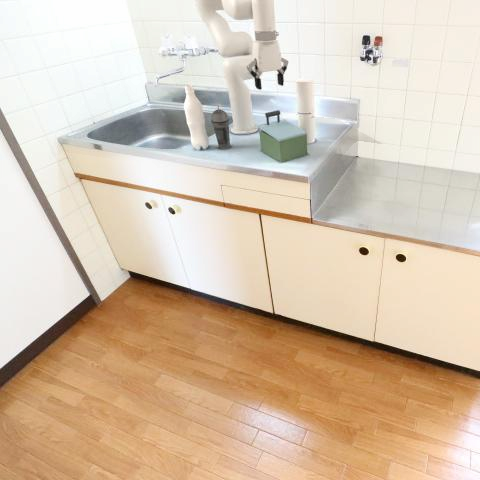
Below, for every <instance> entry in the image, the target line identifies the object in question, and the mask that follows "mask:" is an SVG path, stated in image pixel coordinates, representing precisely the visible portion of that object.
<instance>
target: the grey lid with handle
mask: <svg viewBox="0 0 480 480" xmlns="http://www.w3.org/2000/svg"><path fill="white" fill-rule="evenodd" d="M264 115H265V116H264V117H265V119H266V122H265V123H262V124H258V125H257V127H258V129H260V131H261V130H263V131H264V132H266V133H267V134H269V135H270V136H272V137H274V138H275V139H277V140H278V141H283V140H286V139H290V138H294V137H298V136H302V135H306V134H307V132H305V131H304V130H302V129H300V128H299V127H298V125H296V124H294V123H293V122H292V123H291V122H290V121H288V120H286V119H285V118H284V119H280V118H281V117H280V115H281V110H280V109H279V110H273V111H269V112H265V113H264ZM271 117H276V119H277V120H275V121H270V118H271Z"/></svg>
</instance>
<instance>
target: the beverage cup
mask: <svg viewBox="0 0 480 480" xmlns="http://www.w3.org/2000/svg"><path fill="white" fill-rule="evenodd" d="M215 100H216V106H217V109H215V110H214V111H213V112H211V115H210V122H211V125H212V126H213V131H214V134H215V138H216V142H217V145H218V148H219V150H227V149H230V148H231V139H230V126H229V125H230V118H229V114H228V113H227V112H226V111H225V110H223V109H220V105H219V99H218V98H216V99H215Z"/></svg>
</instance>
